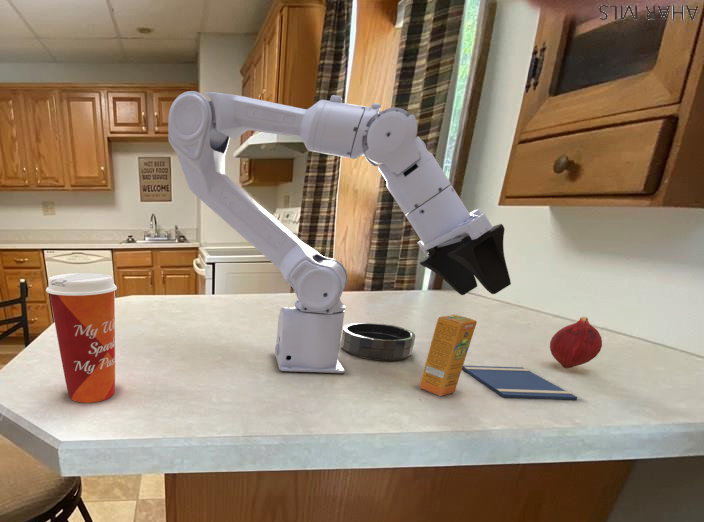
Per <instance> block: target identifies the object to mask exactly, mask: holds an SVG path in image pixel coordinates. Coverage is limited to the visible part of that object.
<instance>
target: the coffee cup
mask: <svg viewBox="0 0 704 522" xmlns="http://www.w3.org/2000/svg"><path fill="white" fill-rule="evenodd" d="M117 289H118V286H117V285H116V284H115V282H114V278H113V277H112V275H111V274H106V273H101V272H100V273H99V272H74V273H73V272H72V273H63V274H56V275H52V276H49V278H48V286H47V287H46V289H45V292H46V293H48V294H49V300H50V305H51V310H52V317H53V322H54V326H55V332H56V338H57V342H58V343H57V344H58V350H59V355H60V360H61V365H62V370H63V371H62V372H63V375H64V376H63V377H64V380H65V385H66V386H65V387H66V391H67V395H68V397H69V399H70V400H72V401H73V402H77V403H83V404H86V403H87V404H89V403H90V404H91V403H98V402H103V401H105V400H109V399H111V398H112V397H113V396H114V395H115V391H116V317H115V316H116V315H115V314H116V310H115V309H116V307H115V306H116V305H115V302H116V301H115V300H116V299H115V292H116V291H117Z"/></svg>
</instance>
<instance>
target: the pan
mask: <svg viewBox="0 0 704 522" xmlns="http://www.w3.org/2000/svg"><path fill="white" fill-rule="evenodd" d="M415 339H416V333H414V332H413V331H412V330H410V329H407V328H404V327H401V326H397V325H392V324H387V323H386V324H385V323H378V322H377V323H376V322H355V323H350V324H349V323H348V324H346V325H344V326H343V327H342V333H341V340H340V347H341V348H342V349H343V350H344V351H345V352H346V353H348V354H350V355H353V356H355V357H358V358H363V359H367V360H373V361H384V362H387V361H400V360H403V359H406V358H407V357H409V356H411V355H412V354H413V350H414V346H415V345H414V344H415Z"/></svg>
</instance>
